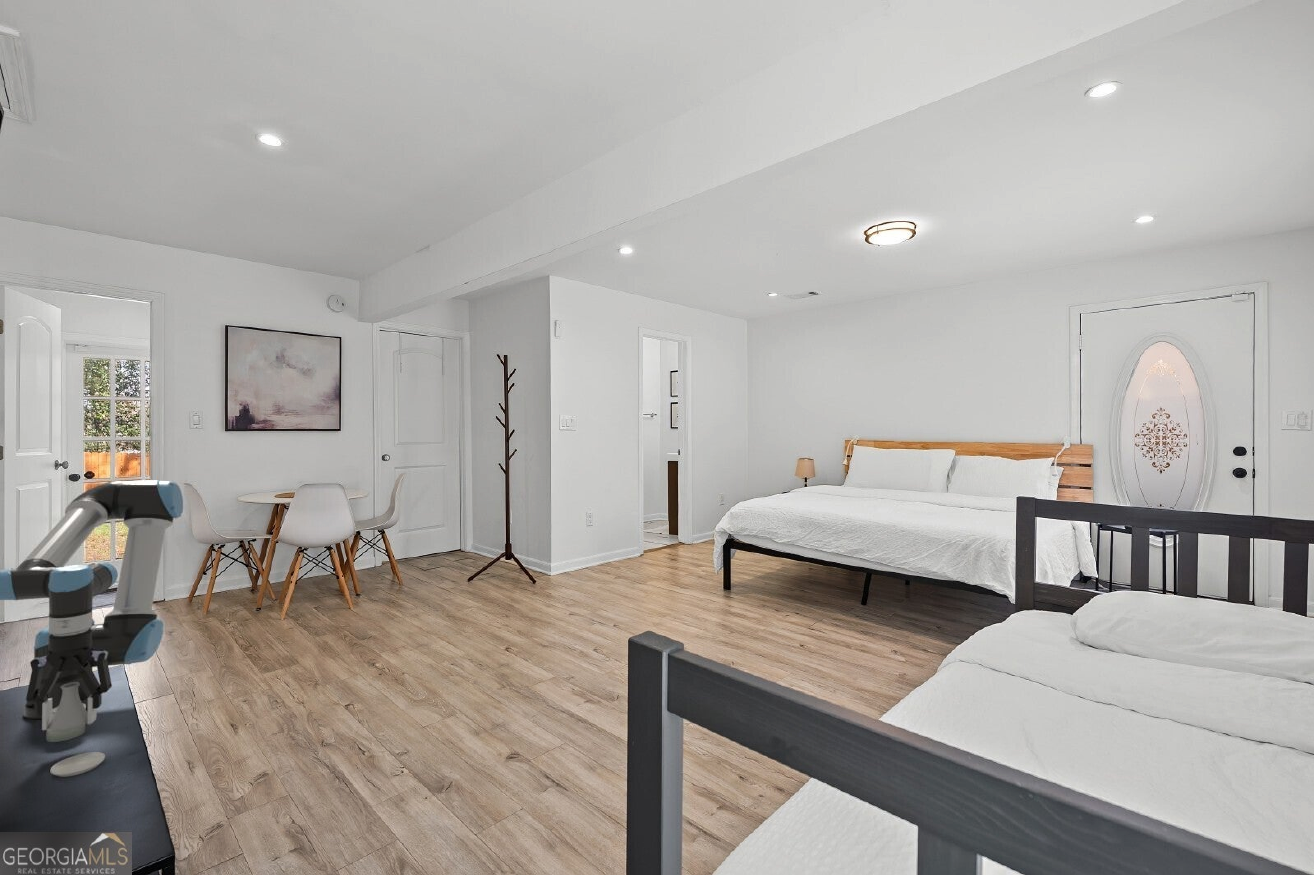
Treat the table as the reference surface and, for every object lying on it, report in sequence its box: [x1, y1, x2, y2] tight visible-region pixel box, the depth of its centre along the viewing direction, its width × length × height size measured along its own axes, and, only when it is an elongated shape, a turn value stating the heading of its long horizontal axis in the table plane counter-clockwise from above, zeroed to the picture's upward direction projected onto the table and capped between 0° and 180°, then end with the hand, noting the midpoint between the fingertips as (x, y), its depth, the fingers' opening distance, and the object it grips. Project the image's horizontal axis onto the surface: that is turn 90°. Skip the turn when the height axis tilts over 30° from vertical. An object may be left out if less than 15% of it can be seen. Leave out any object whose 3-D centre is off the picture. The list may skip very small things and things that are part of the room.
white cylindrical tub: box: [46, 703, 87, 743], centre depth 152 cm, size 7×7×7 cm
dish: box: [49, 751, 106, 778], centre depth 137 cm, size 9×9×1 cm
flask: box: [48, 682, 88, 732], centre depth 145 cm, size 7×7×10 cm
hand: (69, 724), depth 145 cm, fingers closed on flask, 7 cm apart
